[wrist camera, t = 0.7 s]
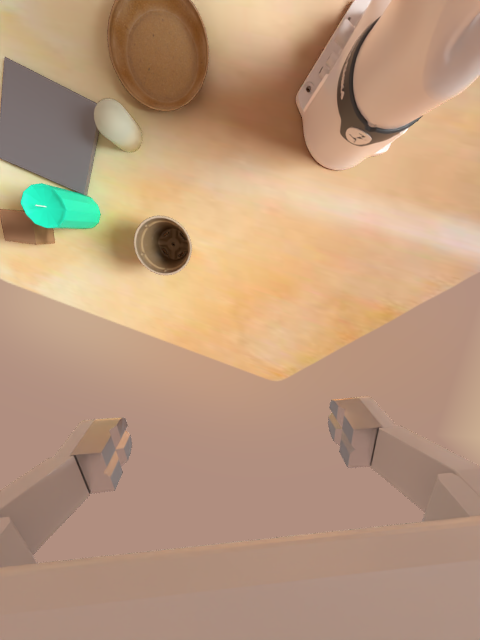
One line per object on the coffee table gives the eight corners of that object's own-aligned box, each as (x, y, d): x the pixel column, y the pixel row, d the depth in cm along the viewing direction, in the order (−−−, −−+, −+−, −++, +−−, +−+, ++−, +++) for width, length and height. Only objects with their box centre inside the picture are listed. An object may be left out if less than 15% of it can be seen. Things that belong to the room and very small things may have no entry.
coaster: (10, 61, 36) (4, 56, 36) (103, 108, 39) (100, 105, 38) (2, 158, 41) (-3, 156, 40) (86, 195, 43) (83, 194, 42)
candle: (68, 226, 45) (16, 224, 34) (65, 191, 43) (8, 177, 32) (101, 231, 46) (61, 231, 34) (99, 196, 44) (56, 185, 32)
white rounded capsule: (116, 110, 39) (97, 91, 34) (145, 126, 40) (132, 109, 35) (109, 143, 41) (90, 130, 35) (138, 157, 42) (124, 146, 36)
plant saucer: (173, 139, 41) (170, 133, 39) (96, 62, 37) (87, 51, 35) (228, 58, 38) (228, 46, 36) (150, -36, 34) (145, -57, 32)
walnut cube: (23, 211, 44) (-2, 208, 39) (52, 215, 44) (31, 213, 40) (27, 239, 45) (4, 240, 41) (55, 243, 46) (36, 244, 41)
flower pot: (142, 253, 48) (125, 258, 39) (160, 208, 45) (146, 203, 37) (185, 275, 50) (177, 284, 42) (205, 234, 47) (201, 234, 39)
